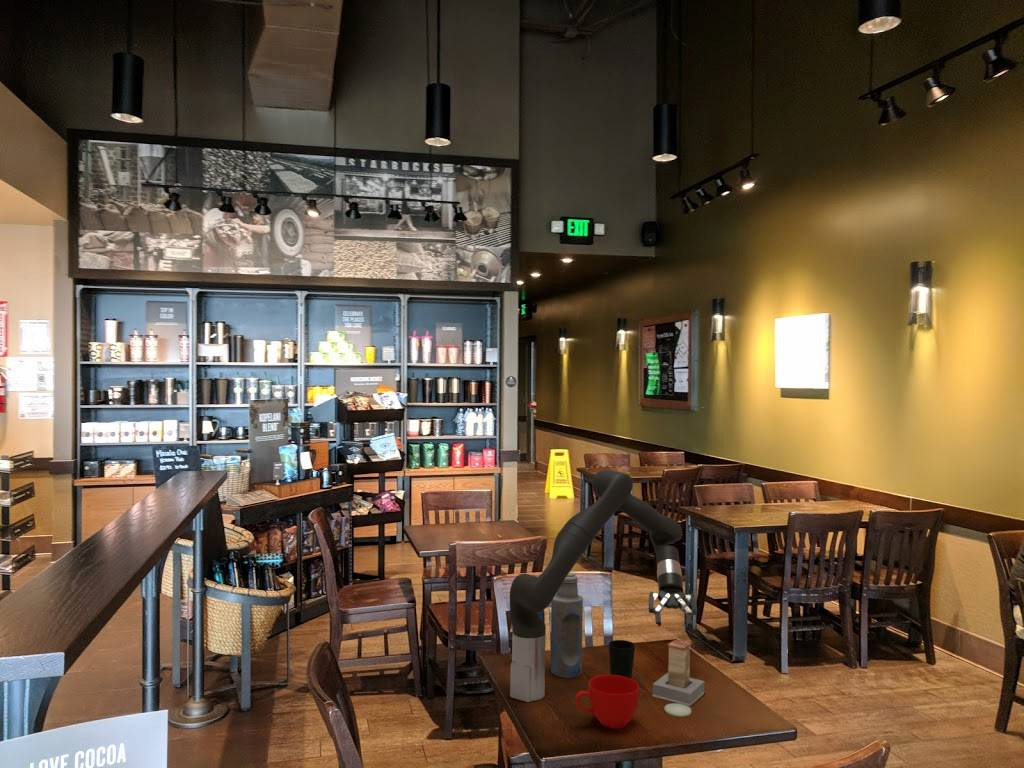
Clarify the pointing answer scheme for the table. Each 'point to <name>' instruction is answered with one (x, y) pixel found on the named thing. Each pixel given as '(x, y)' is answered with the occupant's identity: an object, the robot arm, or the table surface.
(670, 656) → the plug
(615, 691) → the ceramic cup
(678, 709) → the pad
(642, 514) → the robot arm
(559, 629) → the bottle
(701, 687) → the socket block
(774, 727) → the table surface
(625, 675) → the cup
